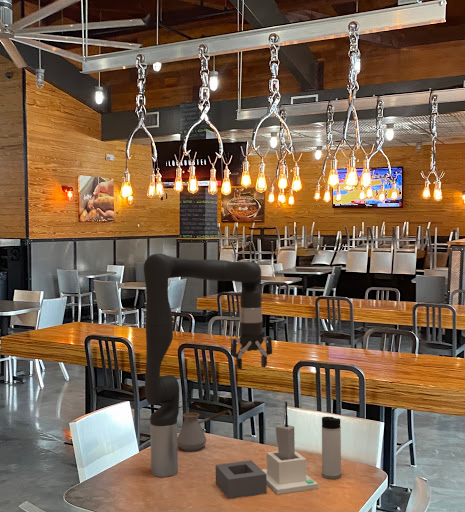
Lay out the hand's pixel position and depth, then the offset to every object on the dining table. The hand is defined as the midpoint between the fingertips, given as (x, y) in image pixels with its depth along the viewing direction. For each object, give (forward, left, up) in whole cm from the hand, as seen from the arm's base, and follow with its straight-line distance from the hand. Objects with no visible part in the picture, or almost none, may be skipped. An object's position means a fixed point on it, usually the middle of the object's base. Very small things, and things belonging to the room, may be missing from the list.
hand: (251, 368), depth 209 cm
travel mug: (+11, +24, -36) cm, 45 cm away
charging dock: (+10, +8, -36) cm, 38 cm away
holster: (+10, -8, -36) cm, 38 cm away
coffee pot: (-32, -8, -36) cm, 49 cm away
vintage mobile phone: (+10, +8, -35) cm, 37 cm away
